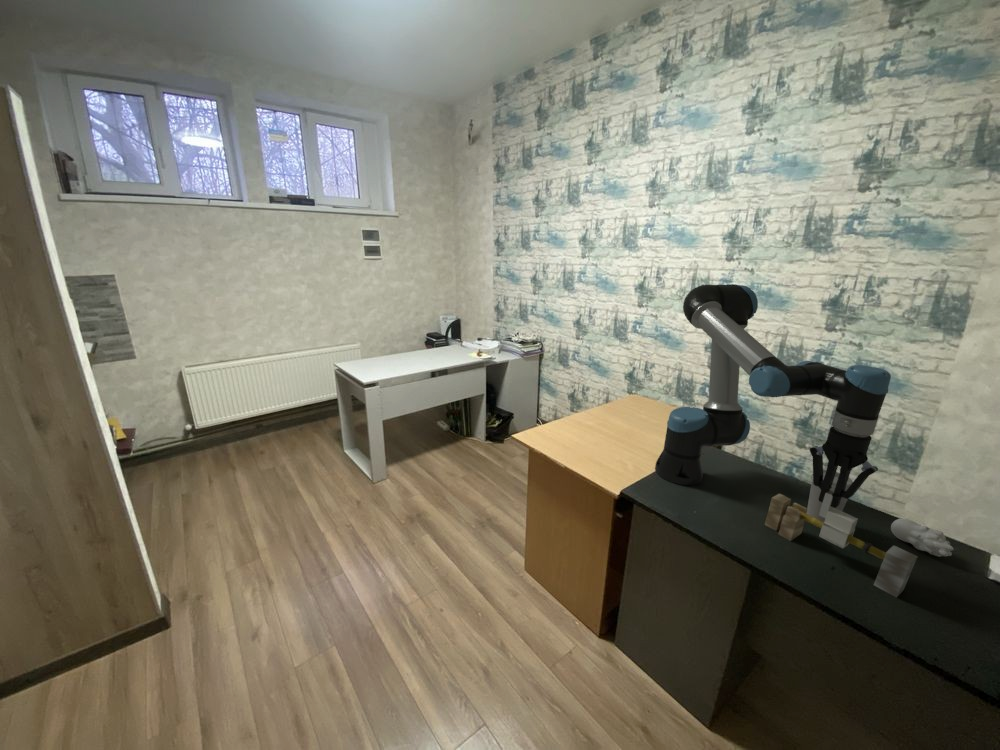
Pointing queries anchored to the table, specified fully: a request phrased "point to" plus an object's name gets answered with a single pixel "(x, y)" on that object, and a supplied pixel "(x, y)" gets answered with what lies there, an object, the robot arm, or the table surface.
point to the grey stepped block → (838, 527)
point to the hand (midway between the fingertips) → (824, 515)
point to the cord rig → (894, 560)
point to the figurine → (922, 537)
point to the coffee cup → (814, 502)
